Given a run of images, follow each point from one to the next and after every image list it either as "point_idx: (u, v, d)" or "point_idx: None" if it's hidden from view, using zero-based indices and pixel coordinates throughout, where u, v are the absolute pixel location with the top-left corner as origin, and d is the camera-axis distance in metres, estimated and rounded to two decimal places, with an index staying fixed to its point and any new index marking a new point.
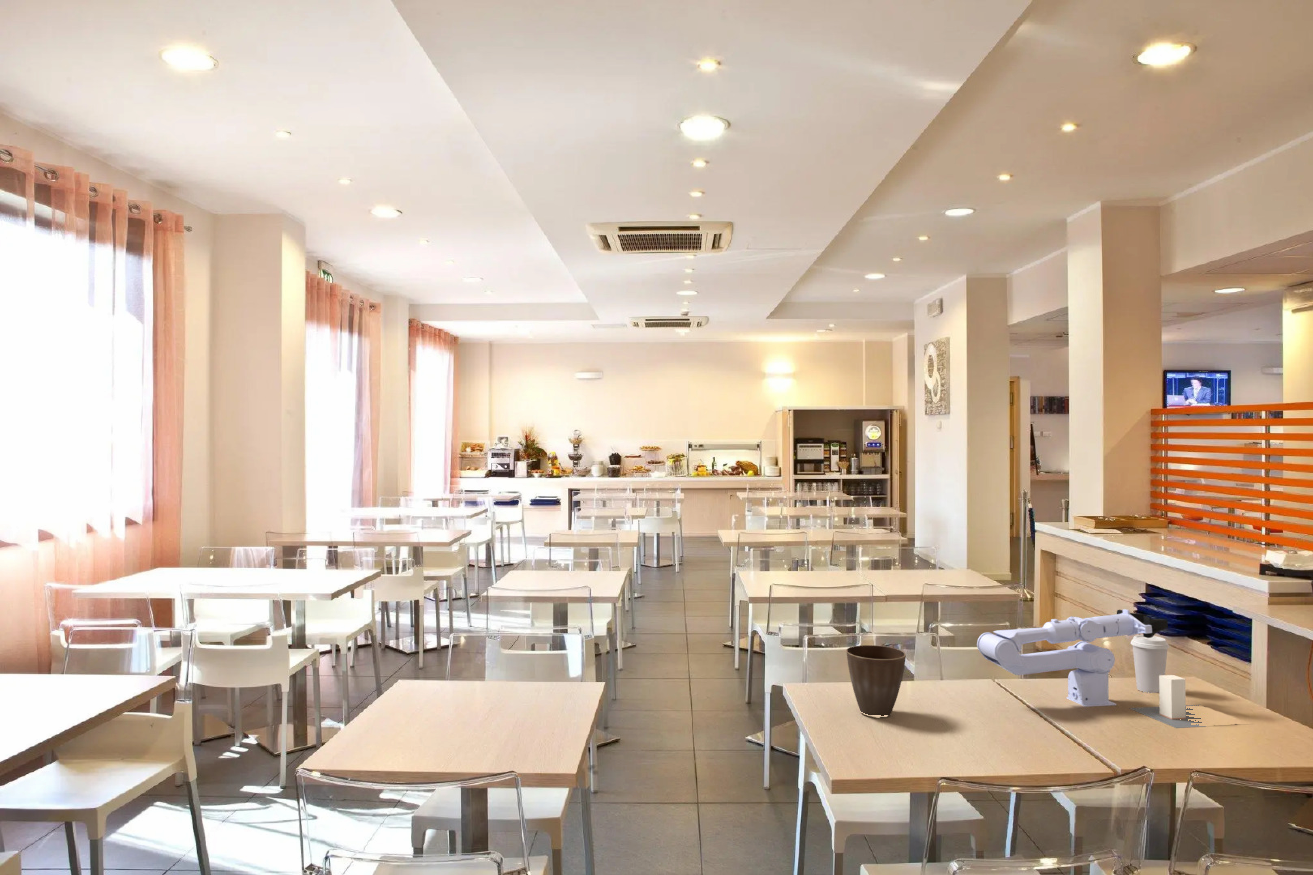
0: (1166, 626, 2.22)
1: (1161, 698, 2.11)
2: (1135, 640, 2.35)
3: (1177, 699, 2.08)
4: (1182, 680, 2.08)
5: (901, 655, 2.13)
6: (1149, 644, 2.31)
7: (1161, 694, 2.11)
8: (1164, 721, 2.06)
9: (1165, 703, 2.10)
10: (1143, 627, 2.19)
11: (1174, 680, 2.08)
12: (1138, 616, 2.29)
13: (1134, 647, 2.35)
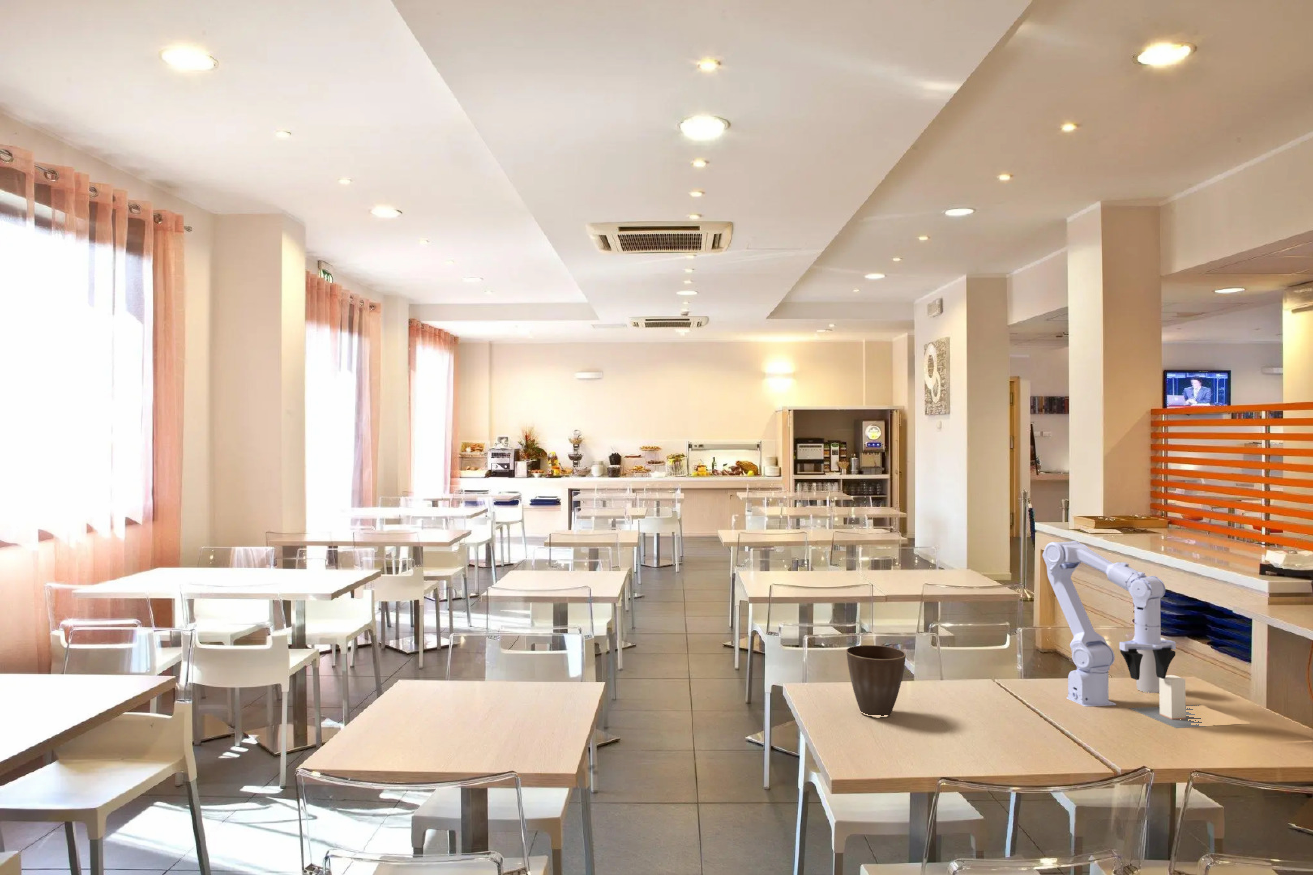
0: (1131, 676, 2.09)
1: (1161, 698, 2.11)
2: None
3: (1177, 699, 2.08)
4: (1182, 680, 2.08)
5: (901, 655, 2.13)
6: None
7: (1161, 694, 2.11)
8: (1164, 721, 2.06)
9: (1165, 703, 2.10)
10: None
11: (1174, 680, 2.08)
12: (1162, 668, 2.09)
13: None
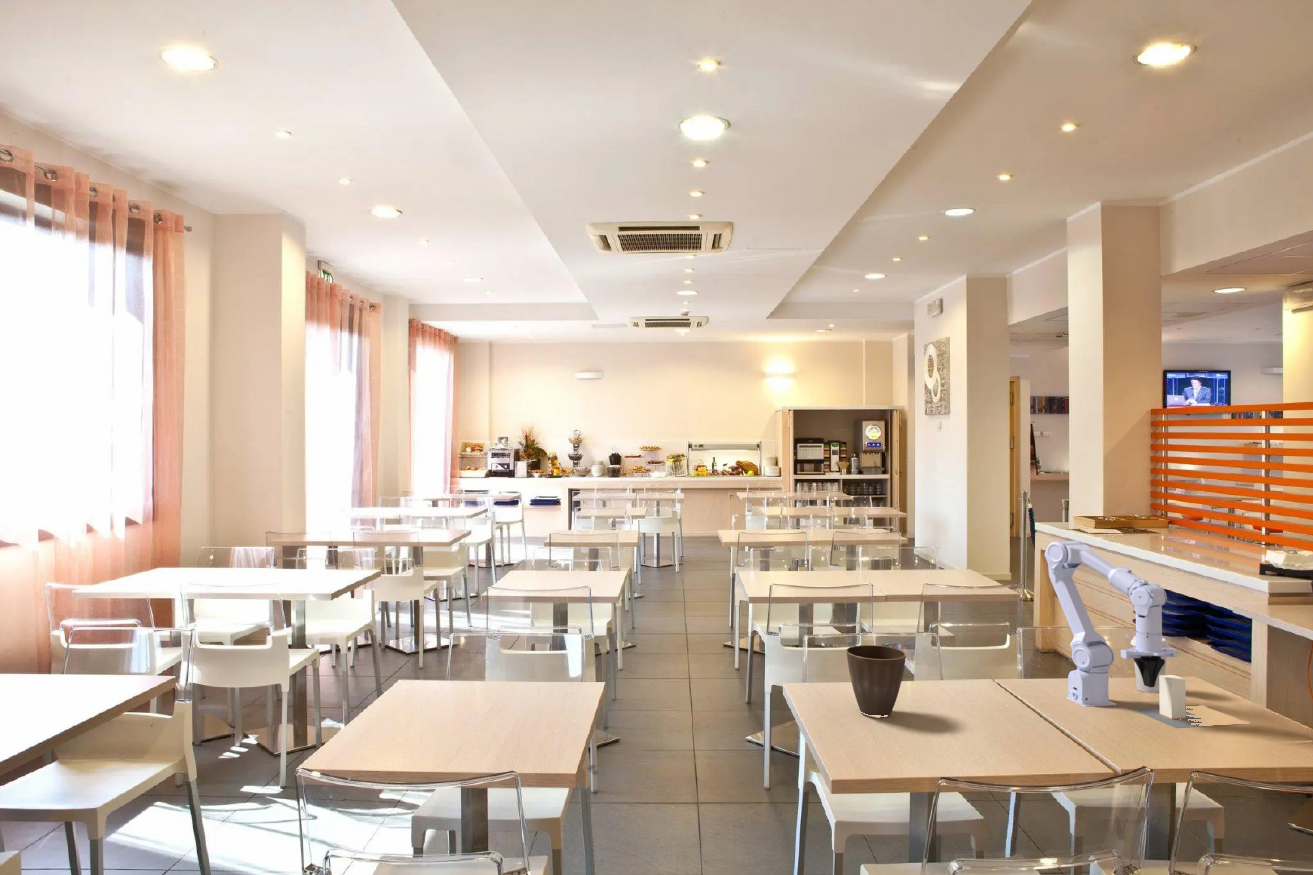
0: (1144, 683, 2.09)
1: (1161, 698, 2.11)
2: (1135, 640, 2.35)
3: (1177, 699, 2.08)
4: (1182, 680, 2.08)
5: (901, 655, 2.13)
6: None
7: (1161, 694, 2.11)
8: (1164, 721, 2.06)
9: (1165, 703, 2.10)
10: None
11: (1174, 680, 2.08)
12: None
13: (1134, 647, 2.35)
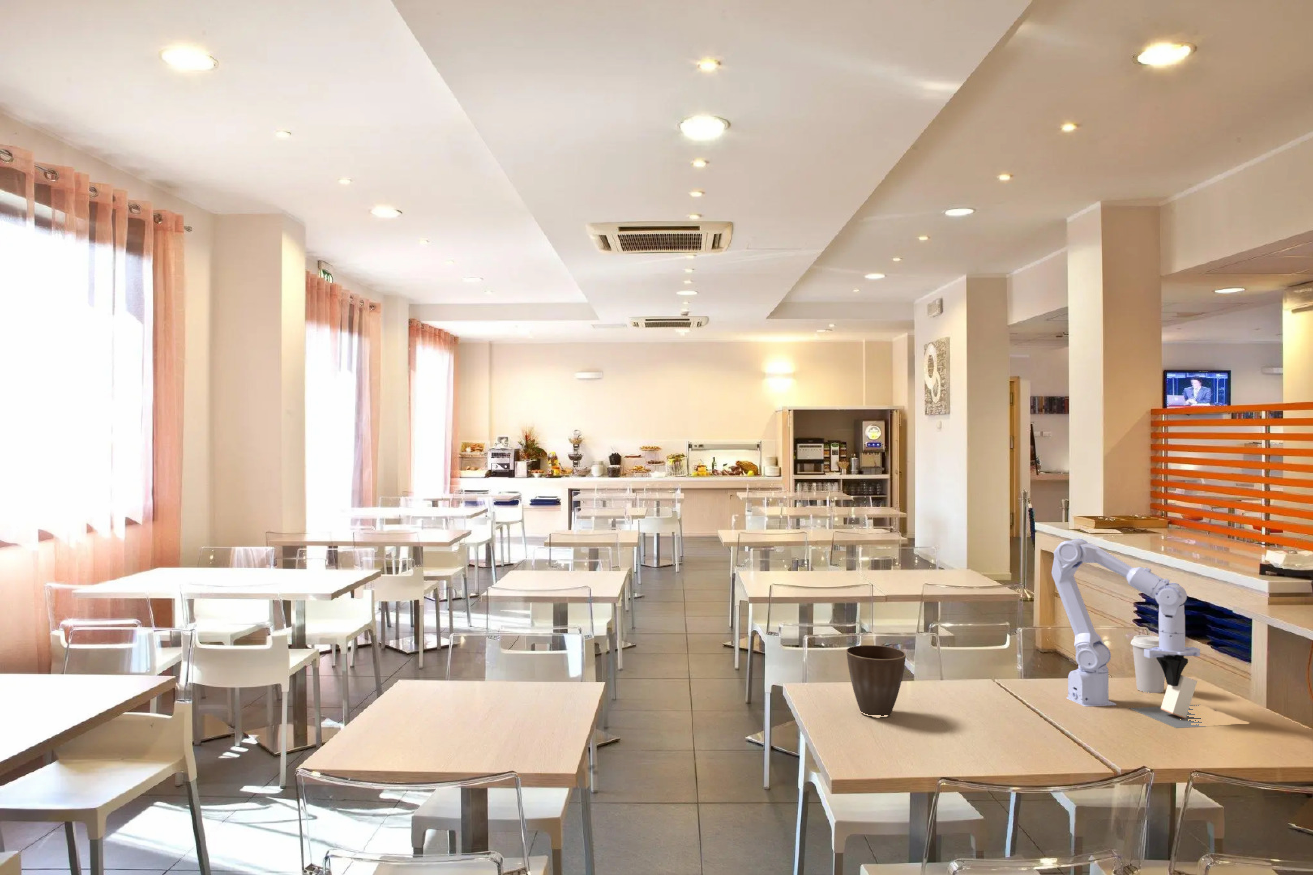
0: (1167, 682, 2.10)
1: (1167, 693, 2.11)
2: (1135, 640, 2.35)
3: (1183, 697, 2.08)
4: (1194, 681, 2.09)
5: (901, 655, 2.13)
6: (1149, 644, 2.31)
7: (1168, 690, 2.11)
8: (1164, 721, 2.06)
9: (1169, 698, 2.10)
10: None
11: (1186, 678, 2.08)
12: None
13: (1134, 647, 2.35)
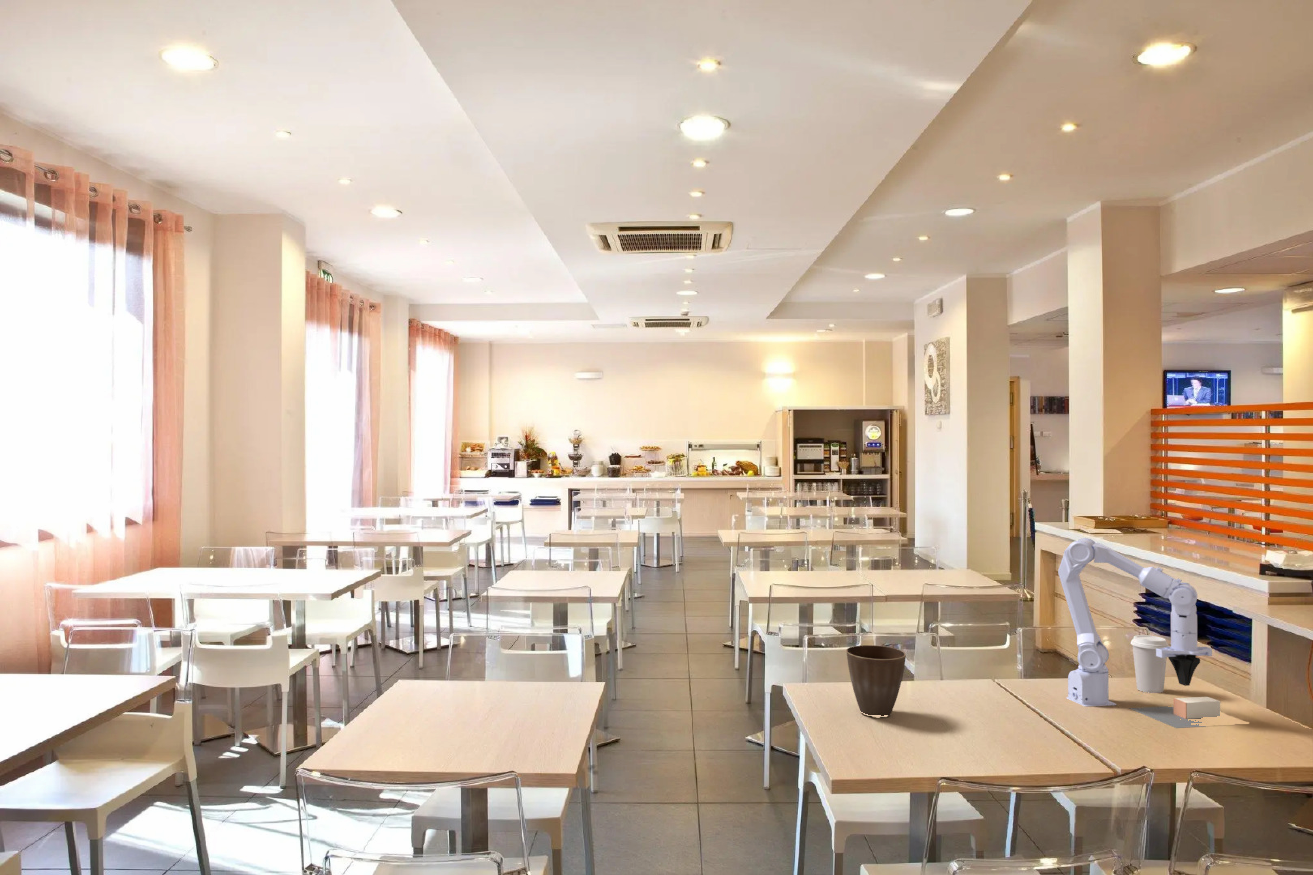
0: (1180, 682, 2.11)
1: (1190, 698, 2.12)
2: (1135, 640, 2.35)
3: (1202, 708, 2.09)
4: (1219, 713, 2.10)
5: (901, 655, 2.13)
6: (1149, 644, 2.31)
7: (1192, 697, 2.12)
8: (1164, 721, 2.06)
9: (1190, 699, 2.11)
10: None
11: (1219, 704, 2.10)
12: None
13: (1134, 647, 2.35)
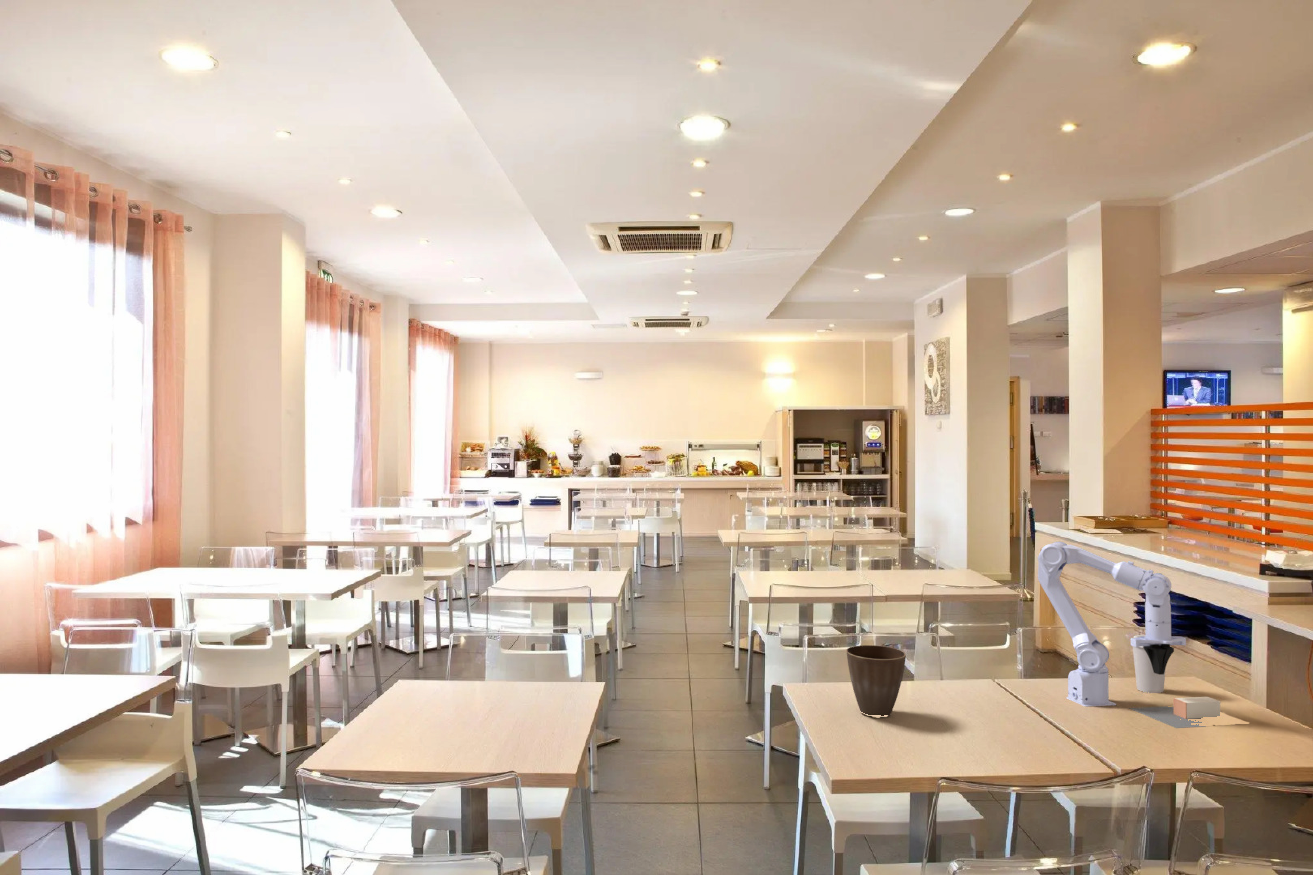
0: (1154, 671, 2.14)
1: (1190, 698, 2.12)
2: None
3: (1202, 708, 2.09)
4: (1219, 713, 2.10)
5: (901, 655, 2.13)
6: None
7: (1192, 697, 2.12)
8: (1164, 721, 2.06)
9: (1190, 699, 2.11)
10: None
11: (1219, 704, 2.10)
12: None
13: (1134, 647, 2.35)
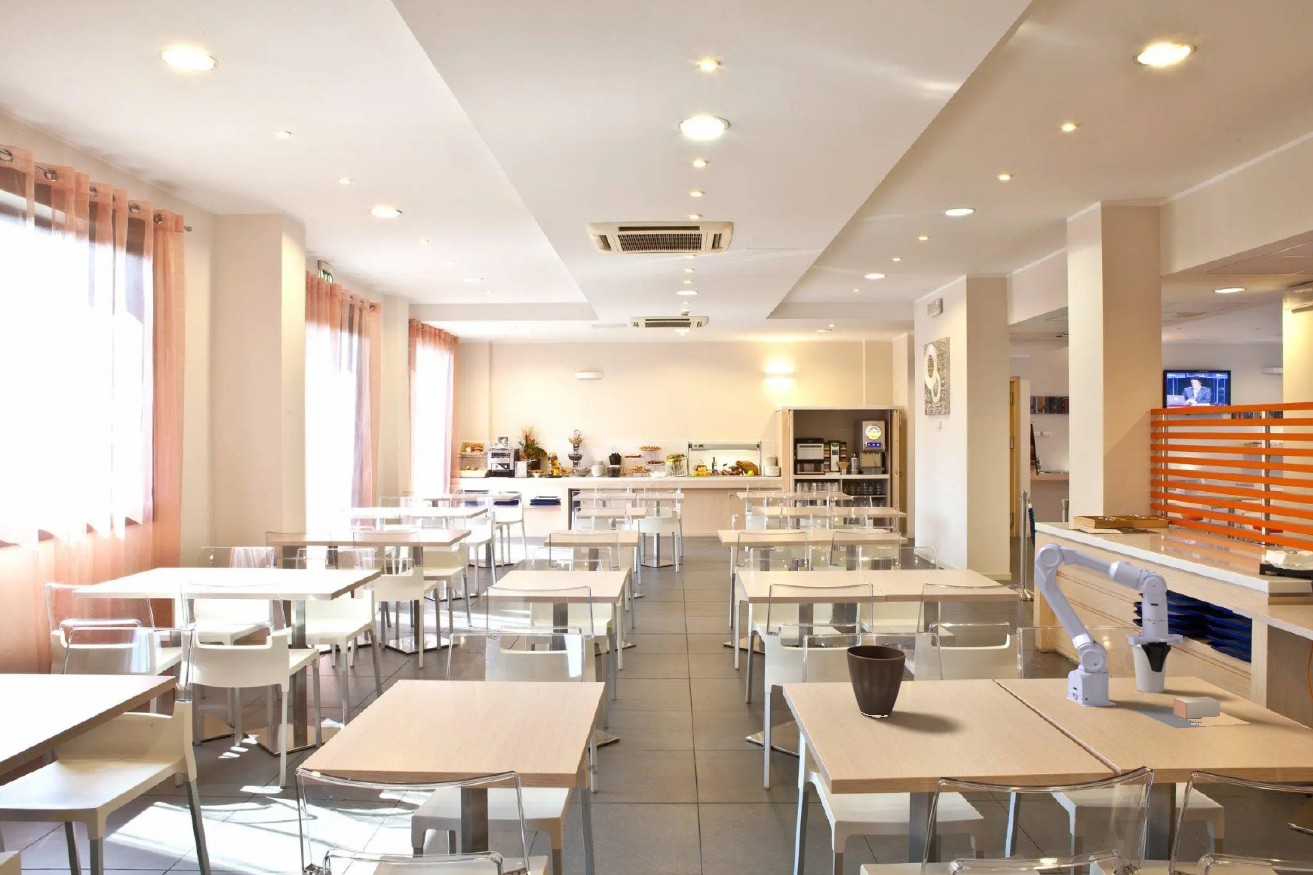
0: (1152, 669, 2.16)
1: (1190, 698, 2.12)
2: None
3: (1202, 708, 2.09)
4: (1219, 713, 2.10)
5: (901, 655, 2.13)
6: None
7: (1192, 697, 2.12)
8: (1164, 721, 2.06)
9: (1190, 699, 2.11)
10: None
11: (1219, 704, 2.10)
12: None
13: (1134, 647, 2.35)
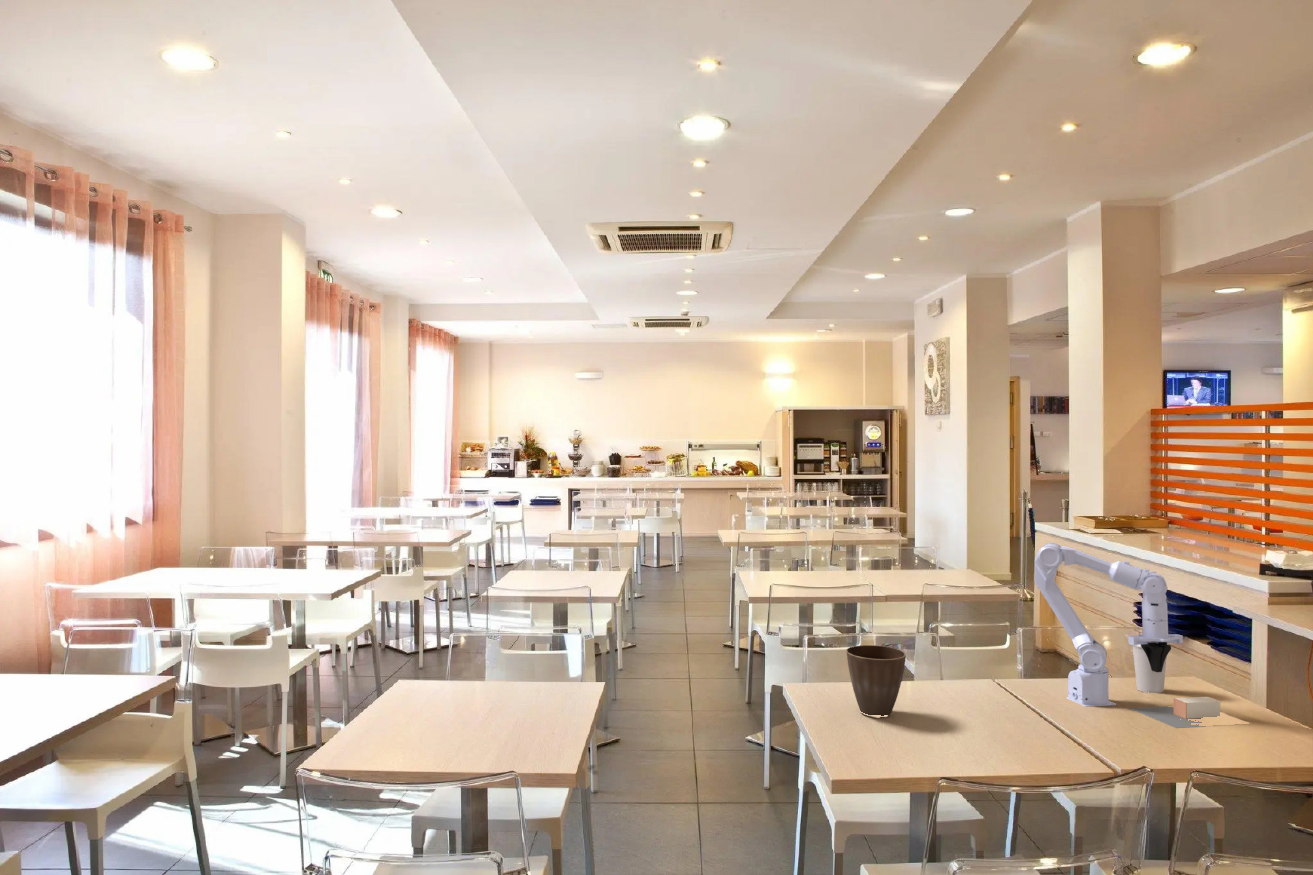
0: (1152, 669, 2.16)
1: (1190, 698, 2.12)
2: None
3: (1202, 708, 2.09)
4: (1219, 713, 2.10)
5: (901, 655, 2.13)
6: None
7: (1192, 697, 2.12)
8: (1164, 721, 2.06)
9: (1190, 699, 2.11)
10: None
11: (1219, 704, 2.10)
12: None
13: (1134, 647, 2.35)
